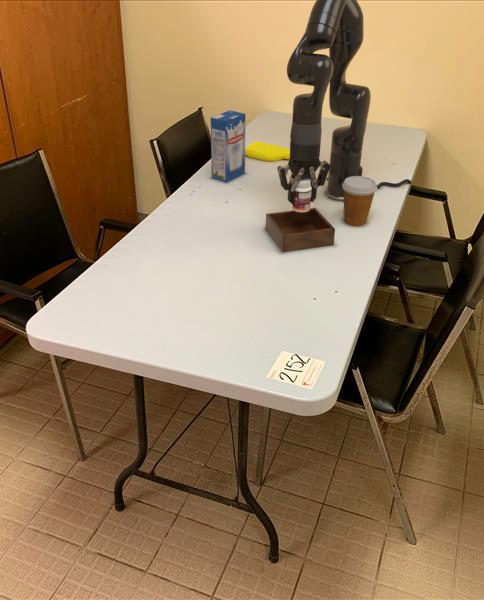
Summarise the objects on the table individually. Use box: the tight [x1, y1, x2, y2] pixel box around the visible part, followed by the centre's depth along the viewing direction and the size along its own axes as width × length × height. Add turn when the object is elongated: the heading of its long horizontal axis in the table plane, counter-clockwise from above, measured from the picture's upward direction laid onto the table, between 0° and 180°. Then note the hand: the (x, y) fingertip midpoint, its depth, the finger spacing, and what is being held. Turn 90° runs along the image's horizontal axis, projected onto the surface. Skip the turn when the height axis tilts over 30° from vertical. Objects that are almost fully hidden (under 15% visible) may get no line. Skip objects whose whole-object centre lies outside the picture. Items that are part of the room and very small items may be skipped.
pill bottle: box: [292, 178, 312, 212], centre depth 156 cm, size 5×5×8 cm
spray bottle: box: [245, 141, 290, 162], centre depth 212 cm, size 3×11×24 cm
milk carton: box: [210, 110, 247, 184], centre depth 193 cm, size 10×6×20 cm, turn 143°
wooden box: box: [265, 207, 336, 253], centre depth 162 cm, size 15×14×5 cm
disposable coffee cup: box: [342, 175, 378, 227], centre depth 168 cm, size 10×10×12 cm
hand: (301, 201), depth 157 cm, fingers closed on pill bottle, 4 cm apart
